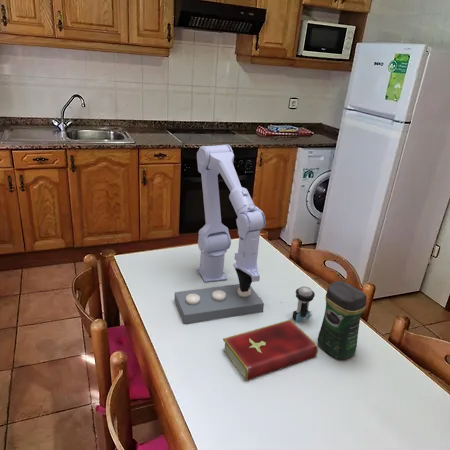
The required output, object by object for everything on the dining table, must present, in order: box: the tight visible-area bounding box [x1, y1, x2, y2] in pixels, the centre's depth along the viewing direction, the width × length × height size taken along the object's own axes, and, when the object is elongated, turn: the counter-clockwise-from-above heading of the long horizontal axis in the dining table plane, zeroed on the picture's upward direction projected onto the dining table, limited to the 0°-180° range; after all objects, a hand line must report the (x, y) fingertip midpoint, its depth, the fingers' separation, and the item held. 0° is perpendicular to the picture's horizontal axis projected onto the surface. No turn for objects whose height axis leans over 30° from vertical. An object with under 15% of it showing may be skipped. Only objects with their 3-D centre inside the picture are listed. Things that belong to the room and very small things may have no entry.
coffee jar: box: [317, 280, 368, 360], centre depth 104 cm, size 10×8×19 cm
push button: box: [291, 286, 316, 324], centre depth 117 cm, size 7×5×10 cm
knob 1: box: [186, 294, 200, 305], centre depth 118 cm, size 4×4×3 cm
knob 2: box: [237, 288, 251, 297], centre depth 123 cm, size 4×4×3 cm
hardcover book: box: [222, 319, 319, 382], centre depth 103 cm, size 12×21×4 cm, turn 118°
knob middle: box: [212, 290, 226, 301], centre depth 121 cm, size 4×4×3 cm
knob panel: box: [174, 283, 265, 325], centre depth 121 cm, size 12×24×3 cm, turn 110°
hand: (244, 290), depth 123 cm, fingers closed, pressing on knob 2
